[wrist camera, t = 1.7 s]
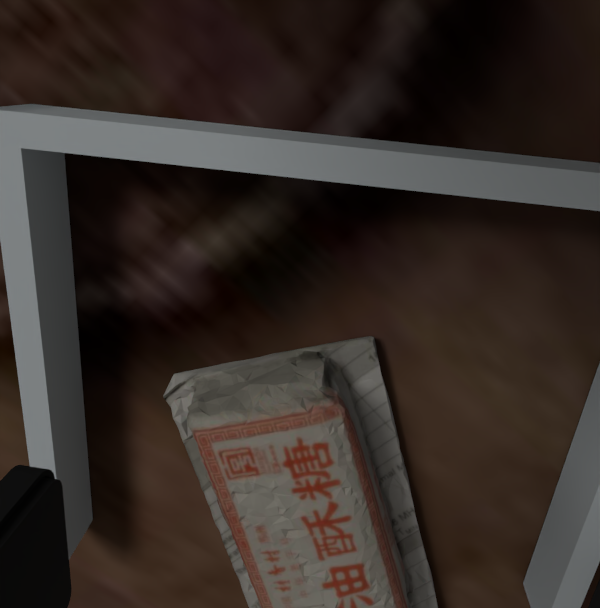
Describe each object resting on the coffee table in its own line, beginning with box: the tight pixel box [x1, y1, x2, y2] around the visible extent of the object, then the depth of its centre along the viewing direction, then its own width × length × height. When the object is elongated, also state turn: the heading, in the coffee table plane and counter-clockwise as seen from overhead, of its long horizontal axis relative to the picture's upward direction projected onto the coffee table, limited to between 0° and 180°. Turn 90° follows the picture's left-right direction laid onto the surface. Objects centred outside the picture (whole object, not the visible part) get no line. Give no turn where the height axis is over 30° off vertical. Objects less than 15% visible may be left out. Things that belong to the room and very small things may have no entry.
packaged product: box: [163, 336, 438, 608], centre depth 26 cm, size 18×5×10 cm
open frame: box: [0, 104, 600, 608], centre depth 24 cm, size 21×25×3 cm
